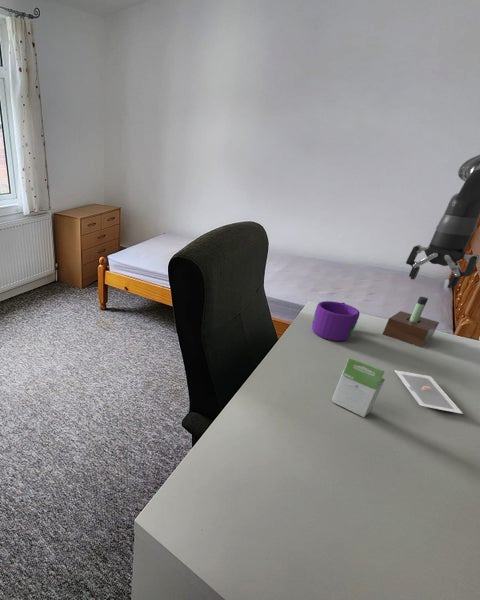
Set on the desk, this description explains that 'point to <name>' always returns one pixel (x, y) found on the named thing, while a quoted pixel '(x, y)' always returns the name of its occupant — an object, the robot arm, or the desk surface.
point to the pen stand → (410, 329)
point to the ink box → (358, 387)
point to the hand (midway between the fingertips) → (430, 282)
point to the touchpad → (427, 391)
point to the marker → (418, 309)
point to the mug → (334, 320)
